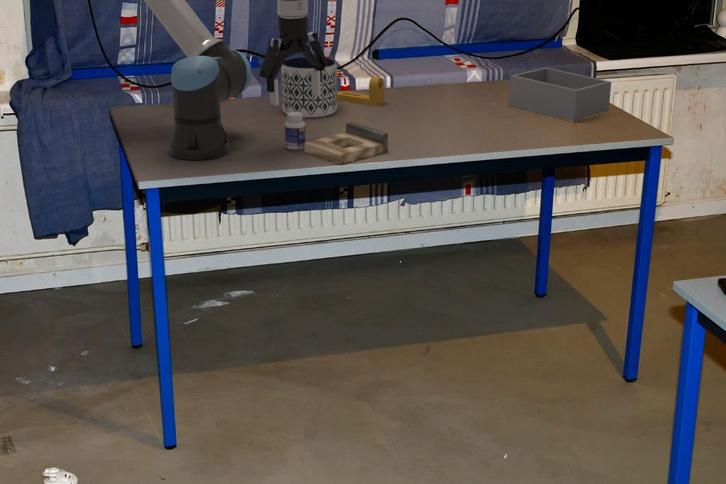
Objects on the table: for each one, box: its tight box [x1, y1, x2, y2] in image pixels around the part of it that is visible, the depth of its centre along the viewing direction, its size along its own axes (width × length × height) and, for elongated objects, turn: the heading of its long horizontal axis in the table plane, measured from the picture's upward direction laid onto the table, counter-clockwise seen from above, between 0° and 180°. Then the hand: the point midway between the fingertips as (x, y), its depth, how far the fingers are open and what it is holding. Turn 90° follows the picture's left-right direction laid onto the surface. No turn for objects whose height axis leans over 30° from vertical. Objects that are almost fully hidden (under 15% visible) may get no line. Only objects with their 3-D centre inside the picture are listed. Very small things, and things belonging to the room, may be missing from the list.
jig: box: [304, 121, 389, 164], centre depth 279 cm, size 16×14×5 cm
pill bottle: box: [284, 112, 306, 151], centre depth 283 cm, size 5×5×9 cm
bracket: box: [337, 76, 385, 107], centre depth 326 cm, size 15×4×8 cm, turn 59°
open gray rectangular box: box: [508, 67, 612, 121], centre depth 318 cm, size 16×24×9 cm, turn 42°
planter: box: [280, 55, 338, 119], centre depth 314 cm, size 16×16×14 cm
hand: (295, 99), depth 280 cm, fingers open, 13 cm apart
